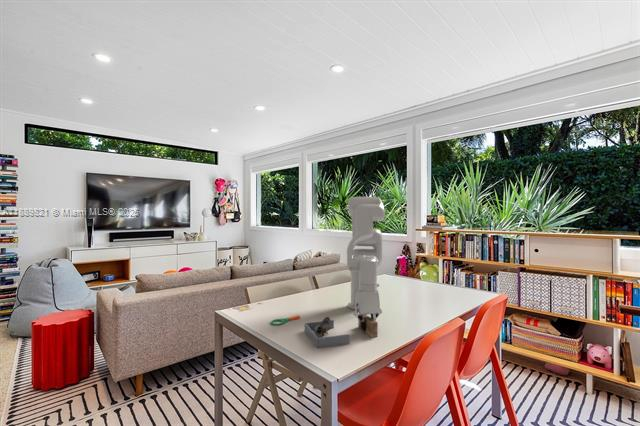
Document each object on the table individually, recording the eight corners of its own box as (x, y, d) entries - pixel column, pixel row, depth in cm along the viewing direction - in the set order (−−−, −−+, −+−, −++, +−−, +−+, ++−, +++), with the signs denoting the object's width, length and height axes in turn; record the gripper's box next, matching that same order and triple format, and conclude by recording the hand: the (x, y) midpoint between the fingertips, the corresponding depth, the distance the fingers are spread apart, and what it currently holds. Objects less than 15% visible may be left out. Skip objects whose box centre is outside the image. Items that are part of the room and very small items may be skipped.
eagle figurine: (335, 335, 127) (334, 323, 136) (326, 321, 126) (325, 310, 135) (320, 344, 128) (319, 332, 137) (310, 331, 127) (310, 319, 135)
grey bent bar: (333, 327, 139) (333, 319, 139) (349, 343, 122) (349, 334, 122) (304, 331, 134) (304, 323, 134) (317, 348, 118) (317, 338, 118)
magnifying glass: (274, 327, 139) (274, 323, 139) (268, 323, 144) (268, 320, 144) (302, 320, 148) (302, 317, 148) (295, 317, 153) (295, 313, 153)
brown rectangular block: (364, 326, 140) (364, 313, 140) (377, 336, 129) (377, 322, 129) (358, 327, 139) (358, 314, 139) (371, 337, 128) (371, 323, 128)
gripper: (380, 283, 140) (380, 324, 140) (346, 286, 135) (346, 328, 135) (389, 287, 133) (389, 330, 133) (354, 290, 128) (353, 335, 128)
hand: (367, 329), depth 134 cm, fingers open, 3 cm apart
